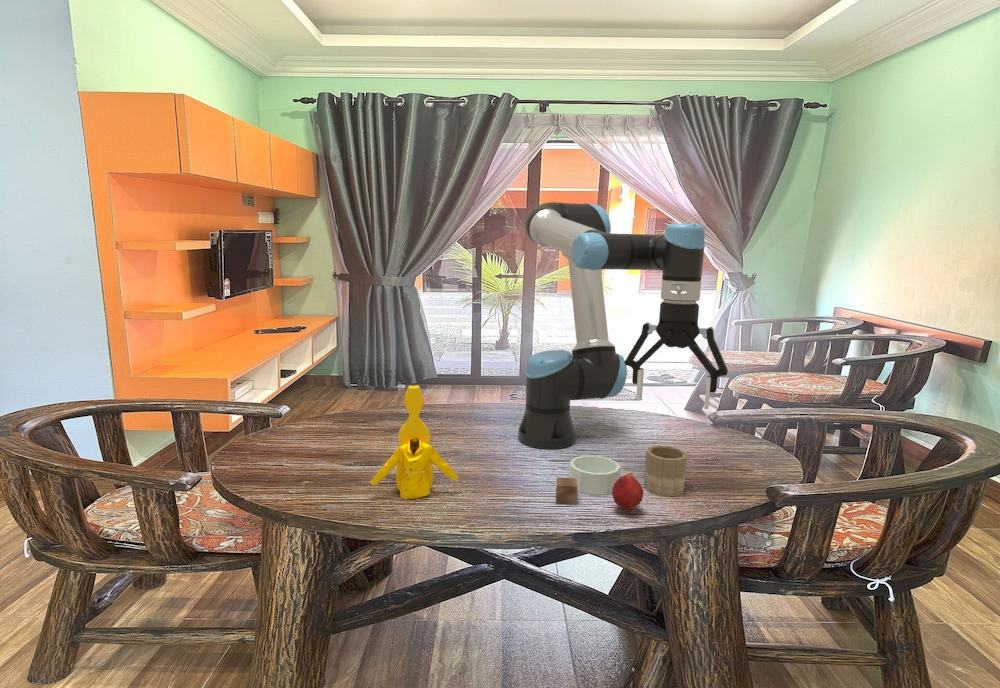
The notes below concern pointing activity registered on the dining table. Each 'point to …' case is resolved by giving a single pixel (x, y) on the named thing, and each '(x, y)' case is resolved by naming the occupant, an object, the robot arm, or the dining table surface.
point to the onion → (627, 492)
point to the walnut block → (566, 491)
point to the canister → (665, 470)
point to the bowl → (594, 474)
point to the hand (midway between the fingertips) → (672, 403)
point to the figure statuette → (414, 453)
